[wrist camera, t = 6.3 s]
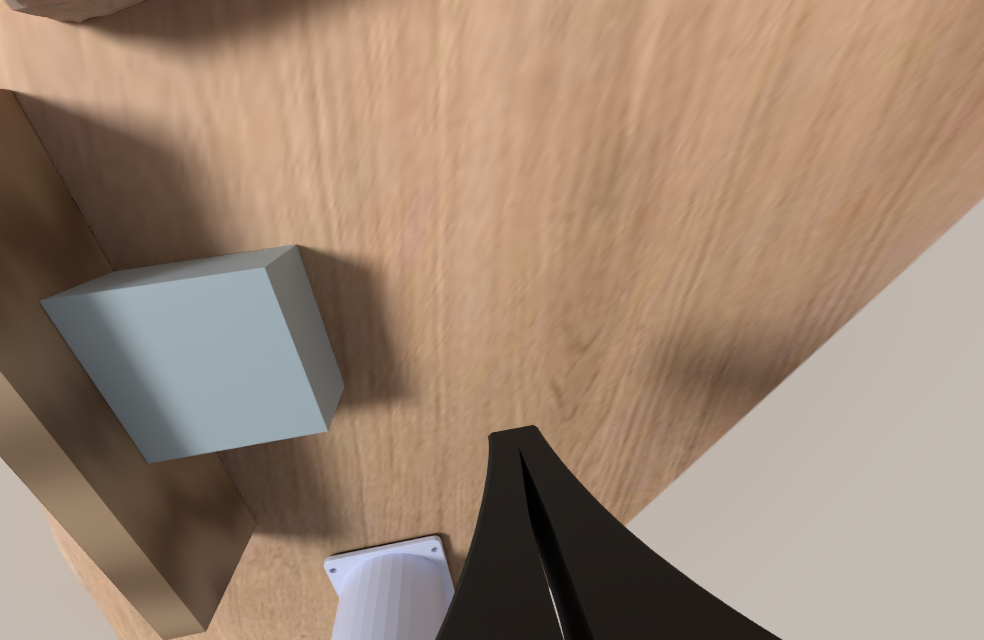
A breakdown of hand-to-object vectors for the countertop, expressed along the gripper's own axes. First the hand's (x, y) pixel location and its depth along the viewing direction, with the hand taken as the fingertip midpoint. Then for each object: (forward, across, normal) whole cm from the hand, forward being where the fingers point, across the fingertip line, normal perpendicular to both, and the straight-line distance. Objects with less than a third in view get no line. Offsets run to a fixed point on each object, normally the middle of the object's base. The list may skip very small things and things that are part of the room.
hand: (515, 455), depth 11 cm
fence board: (+10, +17, 0) cm, 20 cm away
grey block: (+11, +12, -1) cm, 16 cm away
